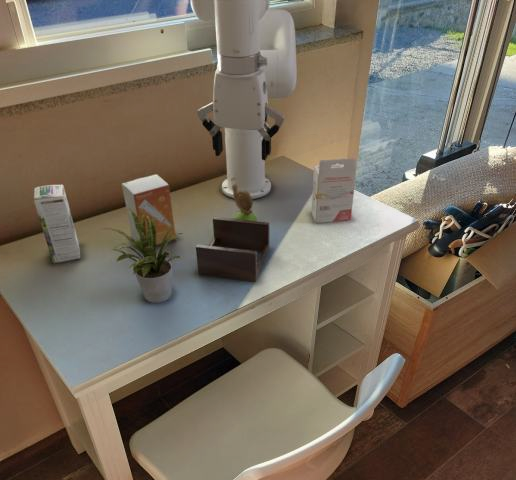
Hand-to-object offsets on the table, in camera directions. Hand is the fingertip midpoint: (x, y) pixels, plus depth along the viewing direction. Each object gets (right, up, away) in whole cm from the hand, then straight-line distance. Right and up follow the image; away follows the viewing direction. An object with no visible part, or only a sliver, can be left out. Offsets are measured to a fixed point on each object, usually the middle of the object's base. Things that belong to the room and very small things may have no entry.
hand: (242, 155), depth 105 cm
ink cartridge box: (+20, -9, +16) cm, 27 cm away
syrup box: (-38, -19, +6) cm, 43 cm away
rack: (-2, -21, +3) cm, 21 cm away
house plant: (-17, -29, -5) cm, 34 cm away
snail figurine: (0, -13, +11) cm, 18 cm away
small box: (-20, -15, +10) cm, 27 cm away
